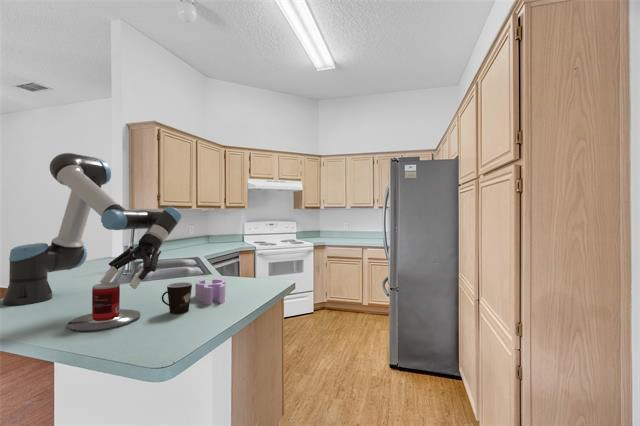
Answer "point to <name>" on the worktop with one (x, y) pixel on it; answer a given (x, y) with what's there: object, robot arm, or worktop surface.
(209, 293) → the clip
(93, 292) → the canned food
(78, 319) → the plate
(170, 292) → the coffee mug
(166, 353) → the worktop surface
